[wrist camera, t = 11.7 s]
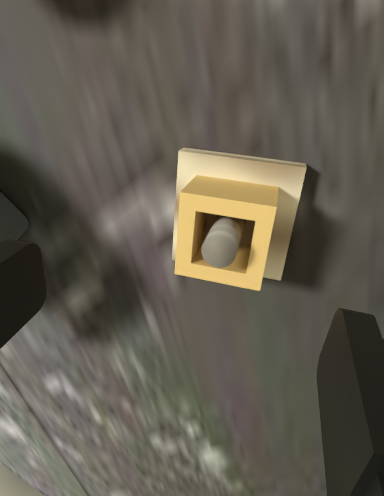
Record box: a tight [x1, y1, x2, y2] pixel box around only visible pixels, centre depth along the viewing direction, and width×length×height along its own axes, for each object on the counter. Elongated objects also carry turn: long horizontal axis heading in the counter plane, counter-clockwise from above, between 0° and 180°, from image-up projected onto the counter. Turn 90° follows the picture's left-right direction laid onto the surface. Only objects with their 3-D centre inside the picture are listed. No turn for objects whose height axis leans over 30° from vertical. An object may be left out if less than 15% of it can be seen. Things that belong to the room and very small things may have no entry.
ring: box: [175, 175, 279, 291], centre depth 27 cm, size 7×7×5 cm
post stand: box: [172, 148, 307, 281], centre depth 27 cm, size 10×10×8 cm
